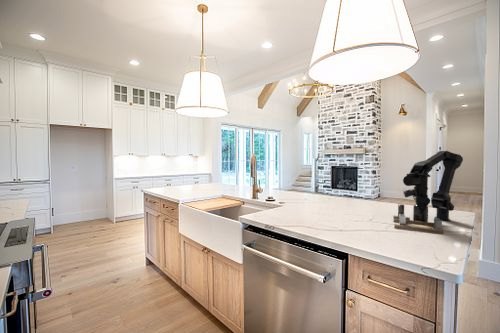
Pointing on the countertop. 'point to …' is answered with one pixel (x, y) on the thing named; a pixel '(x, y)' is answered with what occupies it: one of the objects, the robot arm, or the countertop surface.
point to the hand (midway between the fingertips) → (420, 212)
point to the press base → (421, 225)
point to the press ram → (401, 215)
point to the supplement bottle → (418, 216)
